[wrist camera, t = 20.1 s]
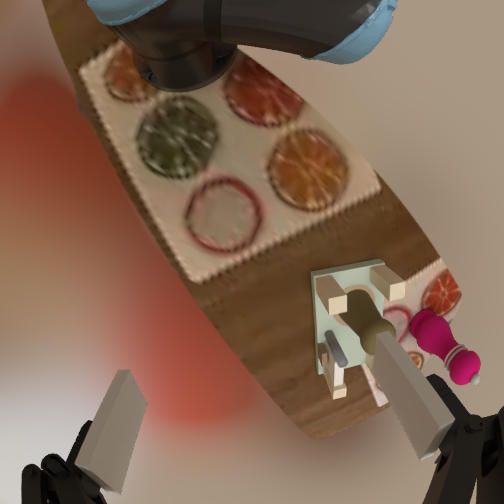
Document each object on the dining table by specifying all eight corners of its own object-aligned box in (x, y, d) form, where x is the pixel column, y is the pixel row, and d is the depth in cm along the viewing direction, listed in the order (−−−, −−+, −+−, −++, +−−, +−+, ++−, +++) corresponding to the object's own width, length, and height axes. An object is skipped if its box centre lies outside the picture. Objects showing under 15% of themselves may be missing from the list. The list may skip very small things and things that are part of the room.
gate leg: (322, 341, 44) (334, 367, 37) (335, 338, 44) (348, 364, 37) (323, 373, 46) (333, 399, 40) (335, 370, 46) (345, 396, 40)
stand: (310, 271, 42) (328, 300, 33) (379, 258, 42) (410, 282, 33) (316, 367, 48) (329, 405, 39) (374, 353, 48) (394, 385, 39)
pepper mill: (402, 337, 48) (453, 402, 29) (415, 305, 46) (477, 366, 27) (426, 337, 48) (477, 395, 29) (439, 307, 46) (499, 361, 27)
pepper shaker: (350, 283, 41) (381, 318, 31) (377, 296, 42) (410, 332, 32) (330, 315, 43) (353, 356, 32) (358, 326, 44) (384, 366, 33)
